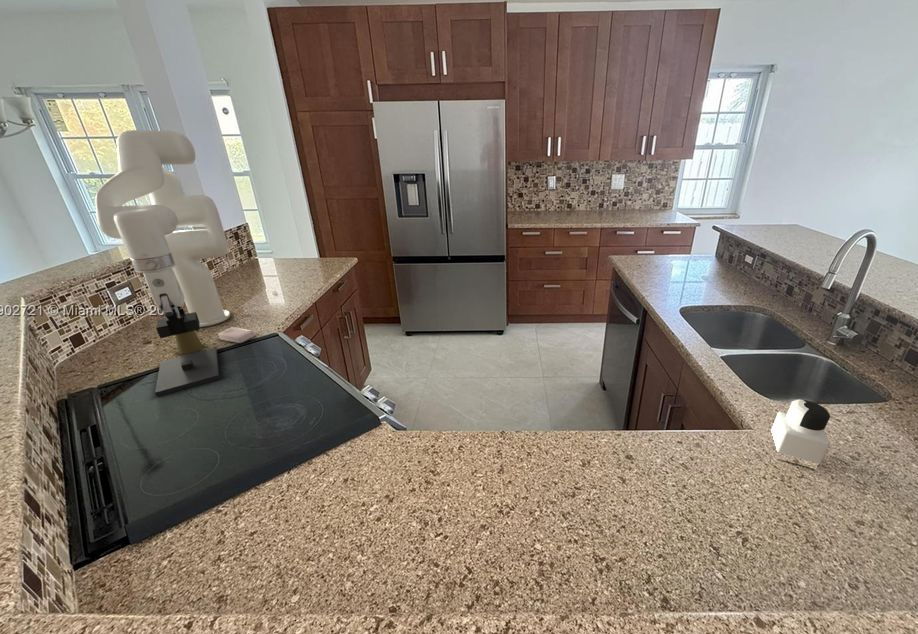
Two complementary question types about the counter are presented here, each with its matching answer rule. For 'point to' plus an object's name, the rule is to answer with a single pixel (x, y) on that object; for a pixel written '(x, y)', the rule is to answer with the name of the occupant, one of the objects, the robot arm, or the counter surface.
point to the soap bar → (236, 335)
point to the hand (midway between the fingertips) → (180, 327)
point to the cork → (188, 343)
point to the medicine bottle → (802, 431)
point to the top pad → (189, 320)
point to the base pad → (187, 371)
